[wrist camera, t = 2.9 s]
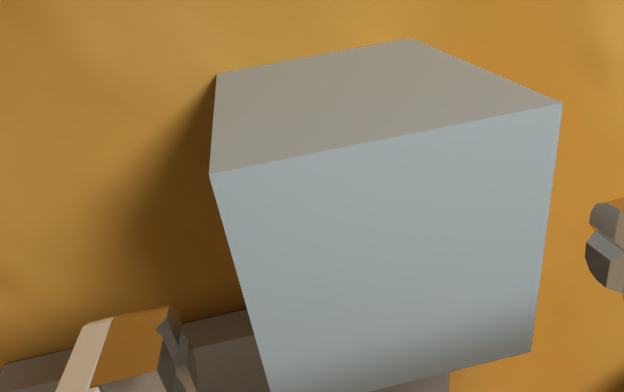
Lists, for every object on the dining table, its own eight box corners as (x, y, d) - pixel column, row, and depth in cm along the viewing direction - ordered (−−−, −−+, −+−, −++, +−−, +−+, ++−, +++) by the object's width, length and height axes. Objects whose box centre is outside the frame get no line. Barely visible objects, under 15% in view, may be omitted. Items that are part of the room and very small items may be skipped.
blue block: (216, 73, 11) (208, 174, 6) (410, 37, 12) (563, 103, 6) (257, 238, 14) (276, 414, 8) (416, 204, 14) (530, 351, 9)
